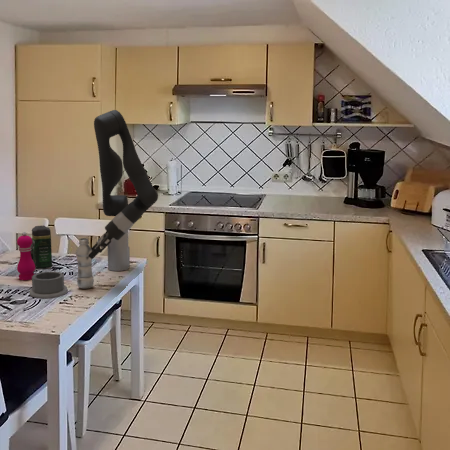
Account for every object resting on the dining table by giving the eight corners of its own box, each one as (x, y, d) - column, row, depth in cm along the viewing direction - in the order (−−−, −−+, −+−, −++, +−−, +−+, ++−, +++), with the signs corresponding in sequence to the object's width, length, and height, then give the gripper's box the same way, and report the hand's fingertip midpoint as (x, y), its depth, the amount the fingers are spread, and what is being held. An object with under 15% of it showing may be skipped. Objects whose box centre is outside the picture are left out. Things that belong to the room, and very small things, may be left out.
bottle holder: (47, 284, 222) (46, 269, 221) (75, 289, 216) (74, 273, 215) (21, 294, 209) (20, 278, 208) (49, 300, 204) (49, 283, 202)
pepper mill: (30, 281, 226) (27, 234, 222) (14, 280, 228) (11, 233, 224) (39, 276, 233) (36, 230, 229) (23, 275, 234) (21, 229, 231)
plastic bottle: (97, 286, 221) (95, 238, 217) (87, 291, 215) (86, 241, 211) (83, 284, 223) (81, 236, 219) (73, 289, 217) (71, 240, 213)
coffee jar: (53, 268, 246) (51, 227, 242) (35, 270, 242) (33, 229, 239) (50, 262, 254) (48, 223, 251) (32, 264, 251) (30, 225, 247)
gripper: (112, 216, 222) (84, 244, 222) (112, 222, 208) (82, 252, 209) (126, 228, 224) (98, 256, 224) (126, 235, 210) (96, 265, 211)
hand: (90, 254), depth 217 cm, fingers open, 8 cm apart
